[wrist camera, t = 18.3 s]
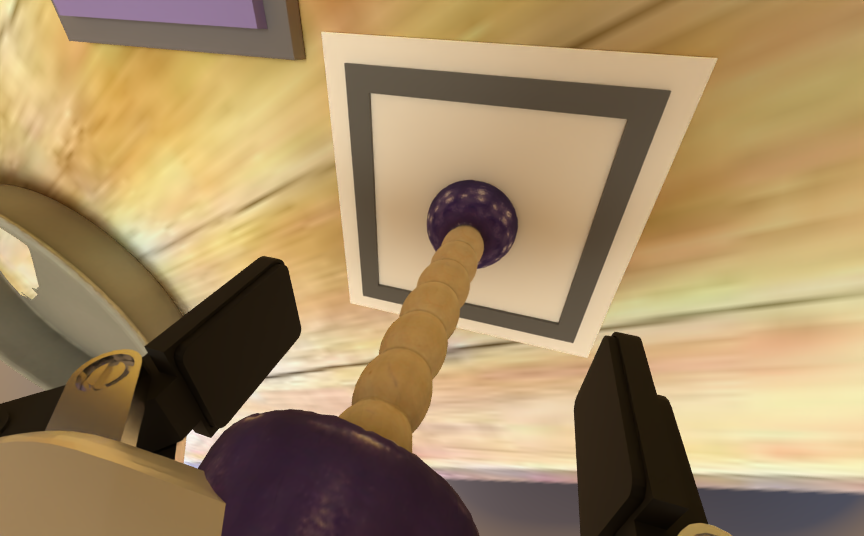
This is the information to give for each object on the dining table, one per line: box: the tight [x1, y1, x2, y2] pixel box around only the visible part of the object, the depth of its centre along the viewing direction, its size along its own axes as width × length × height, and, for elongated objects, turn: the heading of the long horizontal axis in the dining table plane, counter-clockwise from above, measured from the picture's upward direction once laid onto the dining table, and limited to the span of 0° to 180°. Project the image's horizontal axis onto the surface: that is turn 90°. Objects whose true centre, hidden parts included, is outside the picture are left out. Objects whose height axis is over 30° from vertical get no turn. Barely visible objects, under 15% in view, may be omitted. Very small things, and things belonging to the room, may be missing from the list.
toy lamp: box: [198, 180, 518, 536], centre depth 10 cm, size 5×5×17 cm
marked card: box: [321, 32, 718, 358], centre depth 17 cm, size 14×14×1 cm
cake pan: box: [0, 184, 183, 390], centre depth 30 cm, size 25×25×4 cm
